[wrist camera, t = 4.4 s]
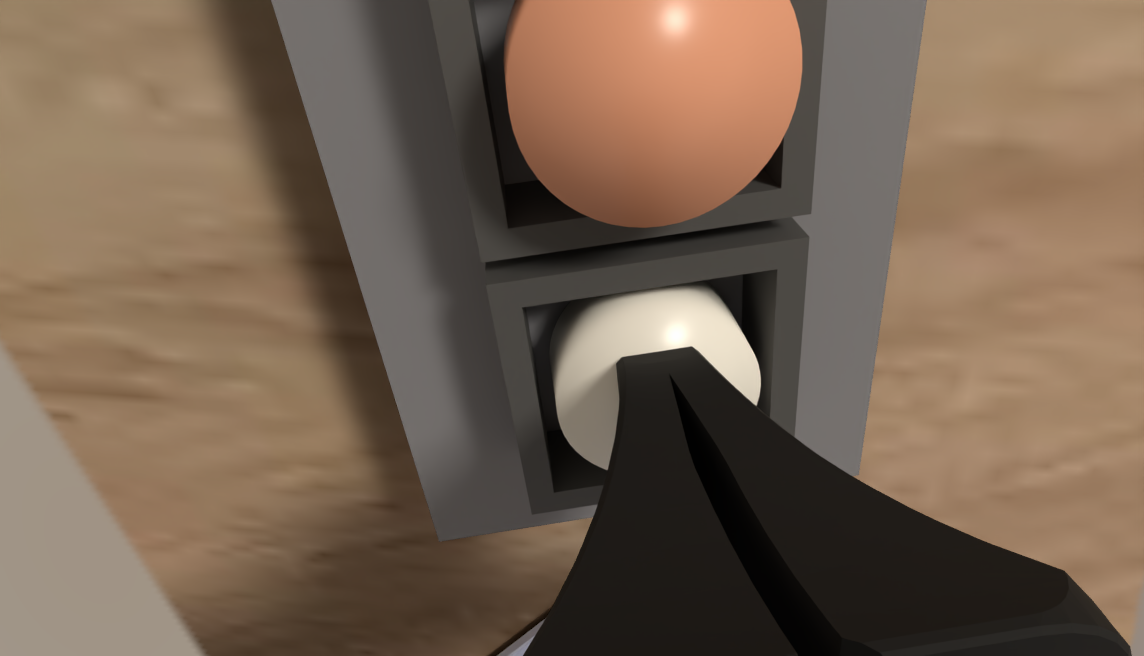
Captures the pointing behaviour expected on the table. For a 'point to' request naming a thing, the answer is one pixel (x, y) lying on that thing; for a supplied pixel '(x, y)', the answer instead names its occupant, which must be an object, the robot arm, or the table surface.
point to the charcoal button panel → (589, 240)
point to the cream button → (631, 327)
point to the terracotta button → (650, 100)
